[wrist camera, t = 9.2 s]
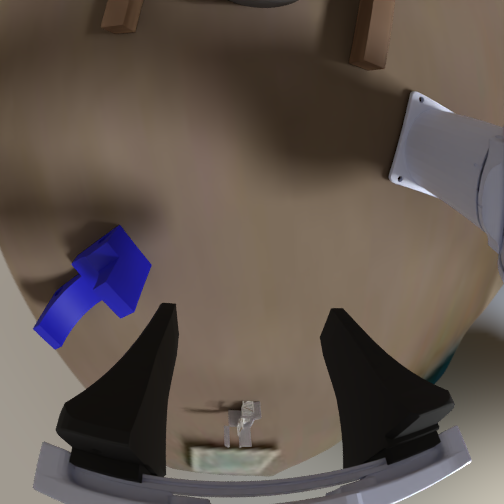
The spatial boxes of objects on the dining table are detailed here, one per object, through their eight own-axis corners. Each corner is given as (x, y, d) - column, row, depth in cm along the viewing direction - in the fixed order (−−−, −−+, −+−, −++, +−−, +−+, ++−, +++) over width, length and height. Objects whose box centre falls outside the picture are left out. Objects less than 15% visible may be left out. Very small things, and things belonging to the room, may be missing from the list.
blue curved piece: (120, 223, 21) (91, 265, 16) (152, 264, 23) (134, 311, 18) (48, 279, 23) (22, 317, 18) (75, 308, 25) (54, 349, 20)
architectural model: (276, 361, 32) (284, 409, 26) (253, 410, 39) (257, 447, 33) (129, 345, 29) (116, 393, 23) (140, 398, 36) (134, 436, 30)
